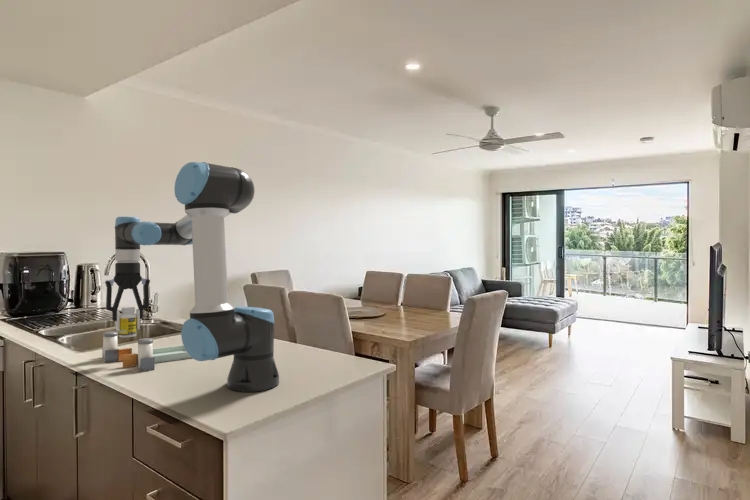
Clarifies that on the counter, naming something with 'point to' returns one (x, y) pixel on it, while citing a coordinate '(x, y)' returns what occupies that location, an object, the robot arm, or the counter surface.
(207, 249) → the robot arm
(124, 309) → the supplement bottle
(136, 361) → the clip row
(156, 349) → the tray
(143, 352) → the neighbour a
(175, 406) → the counter surface
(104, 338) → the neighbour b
